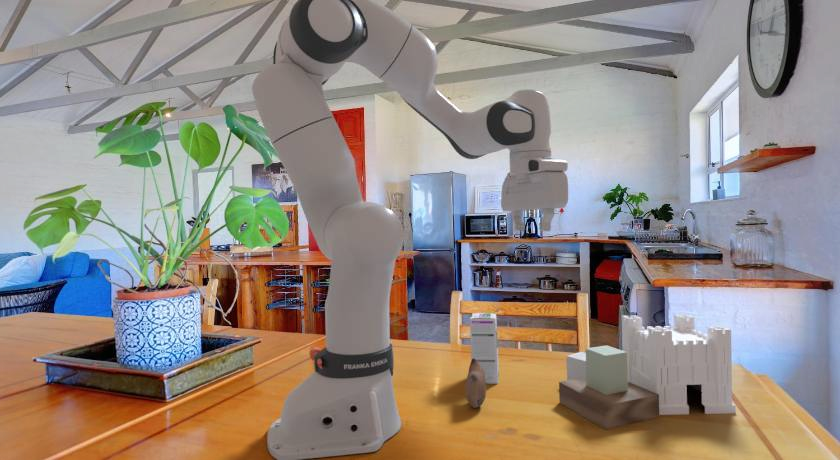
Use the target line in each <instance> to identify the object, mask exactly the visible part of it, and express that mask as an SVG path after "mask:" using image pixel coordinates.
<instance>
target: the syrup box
mask: <svg viewBox="0 0 840 460" xmlns="http://www.w3.org/2000/svg"><path fill="white" fill-rule="evenodd" d="M497 319H498V318H497V313H494V312H476V313H475V312H472V314H471V316H470V317H469V336H470V337H469V338H470V340H469V341H470V359H471V360H470V362H471V361H472V359H473V358H474V359H476V360H477V361H478V362H479V363H480V365H481V366H482V367H483V370H484V374H485V380H486V385H488V384H489V385H490V384H491V385H498V383H499V375H500V372H499V371H500V370H499V367H500V366H499V346H498V327H497V326H498V324H497Z"/></svg>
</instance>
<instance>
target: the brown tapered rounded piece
mask: <svg viewBox="0 0 840 460" xmlns="http://www.w3.org/2000/svg"><path fill="white" fill-rule="evenodd" d="M464 389H465V393H464V394H465V398H466V400H467V403H468V404H469V406H471V407H472V408H474V409H475V408H479V407H480V406H482V404H483V403H484V402H485V400H486V397H487V396H486V395H487V384H486V380H485V374H484V370H483V367H482V366H481V365H480V363H479V362H478V361H477V360H476V359H474V358H473V359H472V361H471V360H470V364H469V367H468V373H467V376H466V380H465V387H464Z"/></svg>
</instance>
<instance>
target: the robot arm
mask: <svg viewBox="0 0 840 460" xmlns="http://www.w3.org/2000/svg"><path fill="white" fill-rule="evenodd" d="M289 13H290V14H289V15H288V16H287V18H286V19H285V21H284V22H283V23H282V25H281V27H280V31H279V33H278V36H277V40H276V42H275V45H274V49H273V60H272V62H273V64H271V65H268V66H267V67H265V68H263V69H262V70H260V72H259V73H258V74H257V75H256V77H255V78H254V80H253V83H252V85H251V86H252V88H251V89H252V90H251V91H252V95H253V99H254V102H255V103H254V104H255V106H256V109H257V111H258V115H259V118H260V121H261V123H262V125H263V127H264V130H265V132H266V135H267V137H268V139H269V141H270V143H271V145H272V147H273V149H274V151H275V152H276V154H277V157H278V159H279V160H280V162H281V165H282V166H283V168H284V170H285V172H286V174H287V175H288V178H289V180H290V182H291V183H292V184H291V185H292V186H293V188H294V190H295V192H296V195H297V197H298V200H299V203H300V206H301V208H302V212H303V215H305V218H306V221H307V224H308V226H309V229H310V231H311V233H312V235H313V238H314V240H315V242H316V244H317V246H318V249H319V251H320V252H321V253H322V254H323V256H324V257H325V258H326V259H327V260H329V261H330V273H329V283H328V291H327V295H326V299H325V303H324V316H325V317H324V319H325V320H324V321H325V322H324V323H325V346H324V348H322V349H320V348H319V347H318V346H313V347H312V348H310V350H309V356H310V357H309V358H310V359H311V360H312V361H313V365H314V368H313V369H314V371H313V372H312V373H311V374H309V376H307V377H306V378H304V380H302V382H301V383H299V384H298V385H297V386H296V387H294V388H293V389H292V390H291V391H290V392H289V393H288V394H287V395H286V398H285V400H284V402H283V405H282V410H281V414H280V418H278V419H276V420H275V421H273V422H272V424H271V425H270V427H269V429H268V431H267V439H266V444H267V450H268V453H269V454H270V455H271V456H272V457H273V458H274V459H276V460H307V459H315V458H316V459H318V458H326V457H338V456H346V455H355V454H356V455H357V454H366V453H367V454H368V453H373V452H377V451H378V450H380V449H381V447H383V444H384V442H386V441H388V440H389V439H390V438H392V437H393V436H395V435H396V434H397V433H398V432H399V431H400V429H401V427H402V420H401V417H400V414H399V410H398V407H397V402H396V396H395V391H394V385H393V384H394V383H393V375H394V367H395V365H394V361H395V360H394V350H393V344H392V343H391V339H390V337H391V335H390V333H391V332H390V330H391V329H390V298H391V297H390V296H391V290H392V283H393V279H394V278H393V277H394V271H395V267H396V262H397V261H396V260H397V258H398V256H399V254H400V252H401V251H402V248H403V246H404V242H405V232H404V226H403V224H402V221H401V220H400V218H399V216H398V215H397V214H396V213H395V212H394V211H393V210H392V209H389V208H387V207H386V206H384V205H381V204H379V203H377V202H373V201H365V200H364V199H363V195H362V191H361V188H360V184H359V181H358V177H357V172H356V163H355V158H354V156H353V155H352V152H351V150H350V148H349V146H348V144H347V141H346V139H345V137H344V136H343V134H342V131H341V129H340V128H339V126H338V125H339V124H338V122H337V121H336V119H335V117H334V114H333V112H332V111H331V108H330V107H329V104H327V102H326V98H325V96H324V95H325V94H324V92H323V91H324V90H323V85H325V84H326V83H327V81H328V80H329V79H330V78H331V77H333V76H334V75H336V74H337V73H338V72H339V71H340V70H341V68H342V67H343V66H344V65H345V63H353V64H356V65H359V66H361V67H363V68H365V69H366V70H368V71H369V72H370V73H371V74H373V75H374V77H377V78H378V79H380V80H381V81H382V82H384V83H385V84H387V85H388V86H389V87H391V89H393V90H394V91H395V92H397V94H399V96H400V97H401V98H402V100H403V101H404V102H405V103H406V104H407V106H409V107H410V108H411V109H412V110H414V111H415V112H416V113H417V114H418V115H419V116H420V117H422V118H423V119H424V120H426V121H427V123H428V124H430V125H432V126H433V127H434V128H435V129H436V130H438V131H439V132H440V133H441V134H442V135H443V136H444V137H445V138H446V139H447V141H448V142H449V143H450V145H451V147H453V149H454V150H455V152H456V153H458V155H459V156H461V157H463V158H465V159H468V160H475V159H476V160H477V159H479V158H481V157H483V156H486V155H488V154H493V153H496V152H497V153H498V152H499V151H502V150H505V149H508V150H509V172H507V174H506V176H505V178H504V181H503V182H502V186H501V197H500V198H501V199H500V207H501V209H502V211H503V212H511V213H510V215H511V218H512V220H513V223H514V231H516V232H524V231H525V230H526V227H525V226H526V225H525V224H526V223H525V222H523V219H522V216H523V212H524V211H525V212H526V211H537V210H539V211H540V210H541V215H543V216H542V219H541V222H539V223H538V224H539V225H538V226H539V231H540V232H551V229H552V225H551V223H552V222H553V218H554V216H555V209H564V208H566V207H567V204H568V202H569V181H568V176H567V174H566V173H565V172H568V167H569V166H568V165H569V164H568V161H566V160H564V159H559V158H555V157H552V149H551V146H550V137H551V132H552V131H551V130H552V129H551V128H552V127H551V126H552V124H551V113H550V112H551V111H550V106H549V102H548V99H547V97H546V95H545V94H544V93H542V92H540V91H538V90H535V89H520V90H517V91H514V93H512V95H511V96H509V97H507V98H504V99H502V100H499V101H496V102H493V103H490V104H488V105H486V106H483V107H482V108H480V109H477V110H475V111H470V112H469V111H468V112H467V111H462V110H460V109H459V108H458V107H457V106H455V105H454V104H453V103H452V102H451V101H450V100H448V98H446V97H445V96H444V95H443V94H442V93H441V92H440V91H439V90H438V89H437V88H436V86H435V82H434V80H435V78H436V74H437V72H438V66H439V65H438V63H439V62H438V61H439V60H438V53H437V50H436V46H434V44H433V42H432V41H431V40H430V39H429V38H428V36H426V35H425V34H424V33H423V32H422V31H420V30H419V29H418V28H417V27H415V26H414V25H413V24H411V23H410V21H408V20H406V19H405V18H404V17H403V16H401V15H399V14H398V13H396V12H394V11H393V10H391V9H390V8H388V7H386V6H385V5H383V4H382V3H380V2H378V1H375V0H297V1H295V3H294V4H293V6H292V8H291V10H290V12H289Z"/></svg>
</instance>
